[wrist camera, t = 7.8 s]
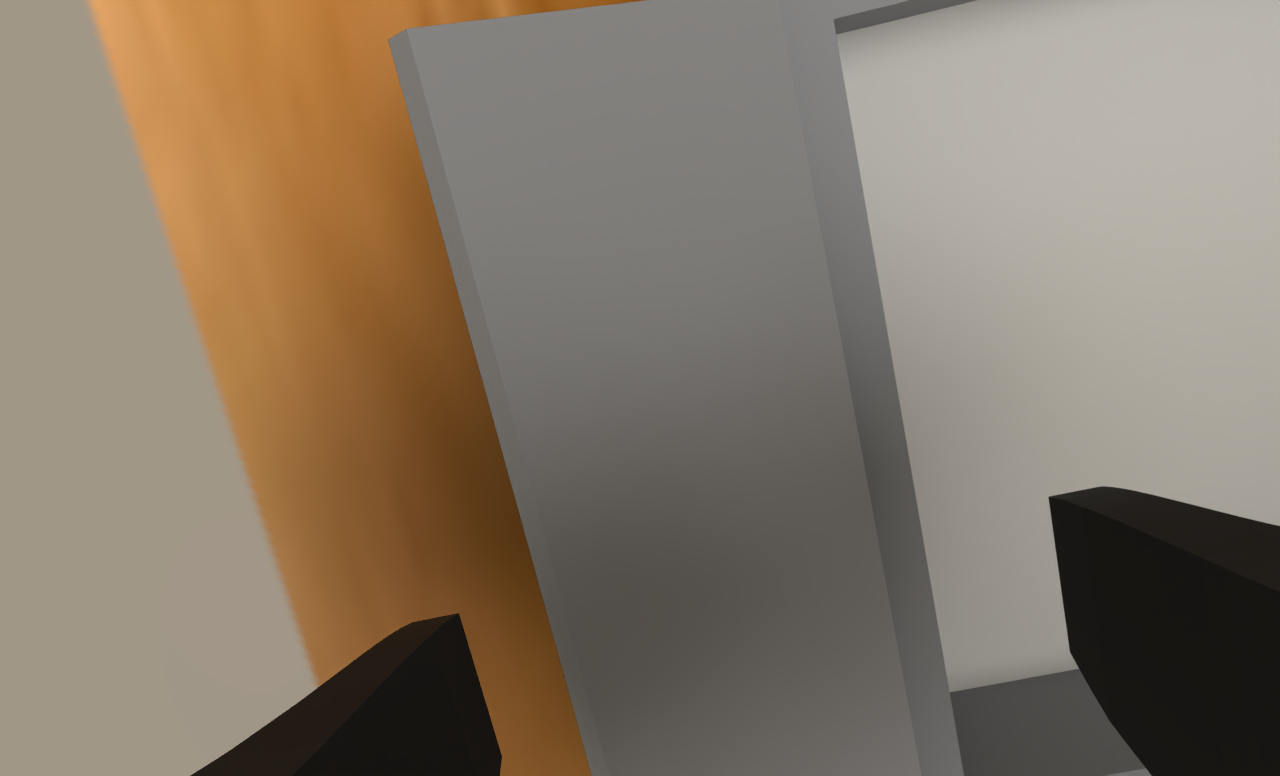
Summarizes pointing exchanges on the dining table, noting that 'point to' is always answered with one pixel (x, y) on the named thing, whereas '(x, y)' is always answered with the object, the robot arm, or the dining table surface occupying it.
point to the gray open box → (1041, 315)
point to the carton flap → (667, 380)
